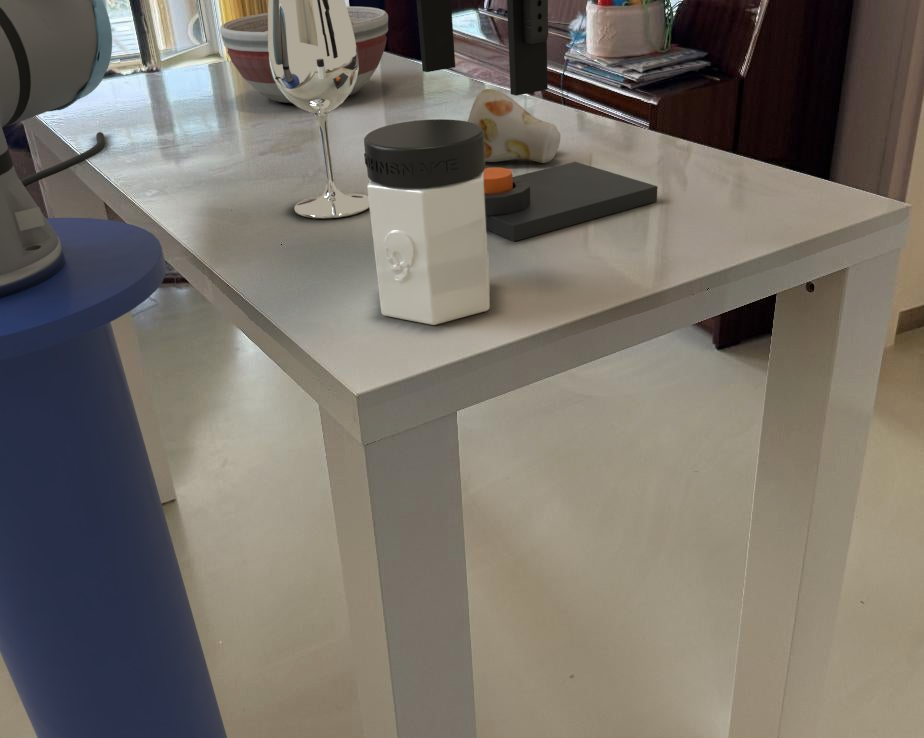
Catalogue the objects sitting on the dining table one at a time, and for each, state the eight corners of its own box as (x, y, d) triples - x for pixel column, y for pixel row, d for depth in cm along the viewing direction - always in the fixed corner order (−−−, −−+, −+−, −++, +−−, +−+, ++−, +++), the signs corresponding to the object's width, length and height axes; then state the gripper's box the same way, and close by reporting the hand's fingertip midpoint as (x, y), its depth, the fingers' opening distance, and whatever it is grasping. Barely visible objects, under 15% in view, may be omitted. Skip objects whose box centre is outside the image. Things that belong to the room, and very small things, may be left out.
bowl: (200, 105, 138) (185, 27, 132) (319, 75, 152) (310, 3, 146) (308, 122, 125) (296, 36, 119) (428, 87, 139) (422, 9, 133)
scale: (428, 213, 90) (425, 180, 89) (575, 175, 97) (575, 144, 96) (502, 245, 82) (500, 209, 80) (657, 201, 89) (658, 167, 87)
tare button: (464, 190, 86) (463, 173, 85) (497, 182, 88) (496, 165, 87) (487, 199, 84) (486, 181, 83) (520, 190, 85) (520, 172, 84)
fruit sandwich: (560, 173, 99) (507, 86, 94) (486, 207, 105) (434, 127, 100) (581, 137, 103) (532, 52, 98) (509, 171, 110) (460, 93, 105)
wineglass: (368, 191, 97) (342, -38, 86) (379, 213, 91) (353, -31, 80) (290, 200, 96) (253, -30, 85) (296, 224, 90) (257, -22, 79)
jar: (355, 312, 71) (333, 142, 65) (416, 275, 77) (402, 115, 70) (459, 333, 67) (447, 153, 60) (516, 291, 73) (511, 123, 66)
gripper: (627, -302, 56) (619, 94, 67) (423, -249, 74) (445, 54, 86) (516, -301, 53) (528, 112, 65) (333, -246, 71) (368, 68, 83)
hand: (481, 80), depth 75 cm, fingers open, 13 cm apart
